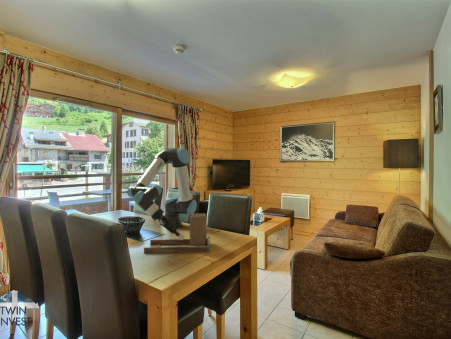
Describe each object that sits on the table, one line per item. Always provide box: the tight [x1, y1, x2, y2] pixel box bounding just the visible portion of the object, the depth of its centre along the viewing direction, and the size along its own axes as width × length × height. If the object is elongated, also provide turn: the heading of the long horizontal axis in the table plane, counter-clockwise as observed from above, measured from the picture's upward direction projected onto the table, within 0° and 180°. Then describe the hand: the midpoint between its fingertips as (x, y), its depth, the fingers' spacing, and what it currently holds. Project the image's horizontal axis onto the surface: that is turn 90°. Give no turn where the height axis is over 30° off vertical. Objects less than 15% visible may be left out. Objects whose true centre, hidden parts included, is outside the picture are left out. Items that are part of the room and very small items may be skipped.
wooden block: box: [189, 212, 208, 246], centre depth 151 cm, size 10×10×20 cm
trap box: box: [143, 233, 211, 254], centre depth 149 cm, size 15×38×6 cm, turn 92°
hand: (182, 238), depth 149 cm, fingers closed
